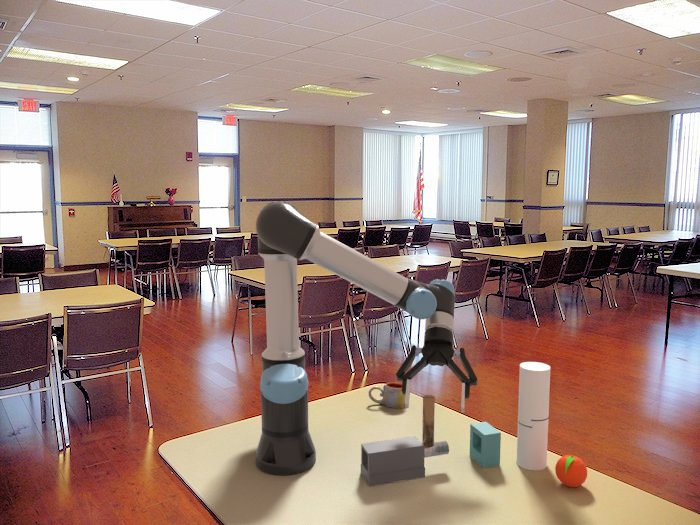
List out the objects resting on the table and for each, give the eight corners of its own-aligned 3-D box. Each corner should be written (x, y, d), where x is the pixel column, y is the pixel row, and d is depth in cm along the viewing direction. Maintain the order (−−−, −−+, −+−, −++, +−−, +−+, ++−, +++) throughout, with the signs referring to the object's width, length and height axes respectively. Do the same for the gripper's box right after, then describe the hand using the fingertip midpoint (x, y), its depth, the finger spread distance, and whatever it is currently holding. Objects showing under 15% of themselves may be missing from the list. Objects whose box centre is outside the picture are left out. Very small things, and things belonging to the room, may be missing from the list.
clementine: (580, 498, 127) (582, 467, 126) (549, 488, 131) (550, 459, 130) (590, 483, 134) (591, 454, 133) (559, 474, 138) (561, 446, 137)
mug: (407, 401, 185) (407, 381, 185) (405, 409, 179) (405, 389, 178) (370, 399, 187) (370, 380, 186) (367, 407, 181) (367, 387, 180)
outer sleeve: (360, 473, 139) (360, 442, 138) (414, 464, 143) (414, 435, 142) (369, 486, 133) (369, 454, 132) (425, 477, 137) (425, 446, 136)
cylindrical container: (548, 471, 139) (552, 371, 136) (517, 469, 140) (521, 369, 137) (544, 458, 146) (548, 362, 143) (515, 455, 147) (518, 361, 144)
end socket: (469, 455, 148) (470, 423, 147) (485, 453, 149) (486, 421, 148) (483, 468, 141) (484, 435, 140) (499, 465, 142) (500, 432, 141)
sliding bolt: (374, 461, 138) (374, 400, 136) (443, 450, 143) (443, 392, 141) (379, 467, 135) (379, 405, 133) (448, 456, 140) (449, 397, 138)
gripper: (486, 342, 154) (486, 418, 141) (393, 337, 159) (385, 410, 146) (487, 327, 148) (487, 405, 135) (391, 323, 153) (382, 398, 141)
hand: (434, 408), depth 141 cm, fingers open, 13 cm apart
